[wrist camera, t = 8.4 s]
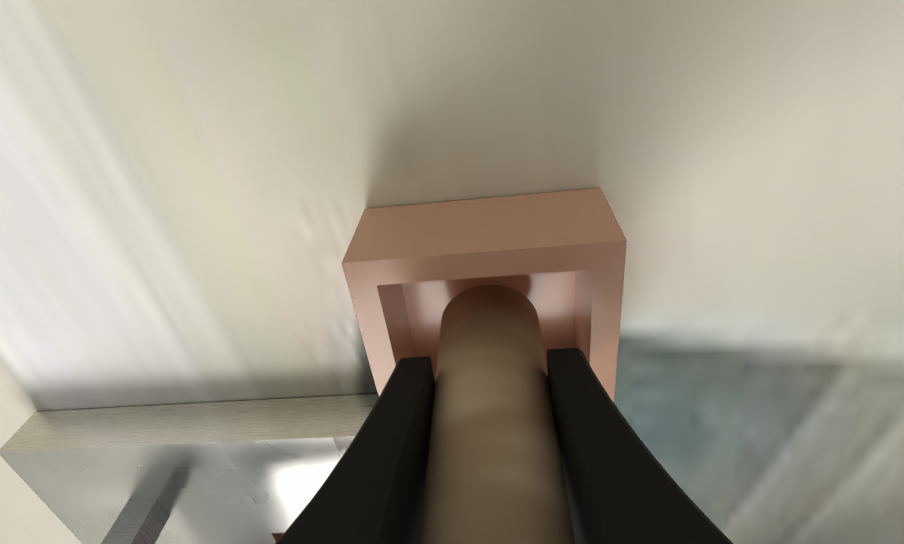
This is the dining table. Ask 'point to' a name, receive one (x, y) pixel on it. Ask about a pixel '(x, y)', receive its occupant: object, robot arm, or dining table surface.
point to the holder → (489, 272)
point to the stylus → (493, 429)
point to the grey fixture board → (185, 466)
